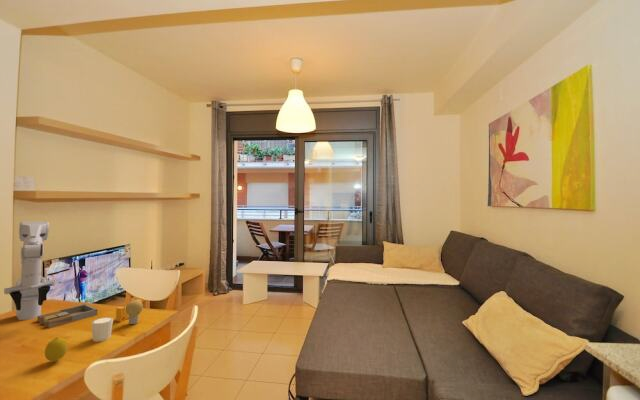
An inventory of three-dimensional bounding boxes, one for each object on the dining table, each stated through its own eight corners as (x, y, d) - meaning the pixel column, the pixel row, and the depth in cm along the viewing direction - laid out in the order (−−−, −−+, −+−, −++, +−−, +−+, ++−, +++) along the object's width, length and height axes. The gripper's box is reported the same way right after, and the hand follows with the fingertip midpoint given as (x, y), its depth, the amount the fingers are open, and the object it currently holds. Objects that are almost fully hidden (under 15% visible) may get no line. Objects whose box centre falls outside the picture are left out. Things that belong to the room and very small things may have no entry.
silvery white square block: (55, 319, 125) (55, 314, 125) (65, 317, 128) (65, 311, 128) (59, 321, 123) (59, 316, 123) (69, 319, 126) (69, 313, 126)
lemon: (53, 357, 98) (54, 333, 98) (71, 357, 98) (72, 333, 98) (39, 366, 92) (40, 341, 92) (57, 366, 93) (58, 341, 93)
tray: (59, 315, 129) (60, 310, 129) (84, 309, 138) (85, 304, 138) (71, 321, 124) (71, 315, 124) (97, 314, 132) (97, 309, 132)
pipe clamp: (134, 312, 139) (134, 298, 139) (141, 313, 138) (142, 299, 138) (112, 322, 127) (112, 307, 127) (120, 323, 126) (121, 308, 126)
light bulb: (143, 319, 130) (144, 297, 130) (139, 325, 124) (140, 302, 124) (127, 321, 128) (128, 298, 128) (122, 327, 122) (123, 303, 122)
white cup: (116, 336, 114) (117, 318, 114) (98, 343, 108) (99, 325, 108) (104, 332, 116) (105, 315, 116) (86, 340, 110) (87, 322, 110)
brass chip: (43, 322, 121) (43, 317, 122) (53, 320, 125) (54, 314, 125) (47, 325, 120) (47, 319, 120) (57, 322, 123) (58, 316, 123)
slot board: (37, 322, 123) (37, 316, 123) (84, 310, 138) (84, 304, 138) (49, 330, 117) (49, 322, 117) (97, 316, 132) (97, 310, 132)
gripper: (9, 279, 108) (7, 315, 108) (58, 272, 121) (56, 304, 121) (2, 276, 111) (1, 311, 111) (51, 269, 124) (49, 300, 124)
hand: (29, 307), depth 116 cm, fingers open, 6 cm apart
